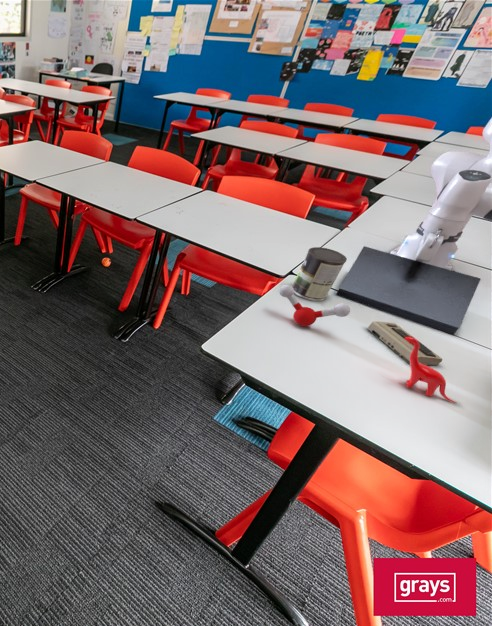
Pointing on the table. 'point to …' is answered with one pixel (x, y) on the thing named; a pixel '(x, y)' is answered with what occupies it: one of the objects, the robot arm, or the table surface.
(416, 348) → the dinosaur
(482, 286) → the table surface
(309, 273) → the coffee can
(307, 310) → the molecular model
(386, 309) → the laptop
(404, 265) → the laptop screen
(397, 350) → the computer
